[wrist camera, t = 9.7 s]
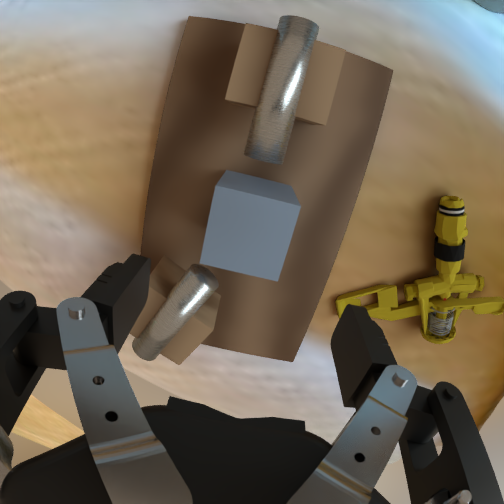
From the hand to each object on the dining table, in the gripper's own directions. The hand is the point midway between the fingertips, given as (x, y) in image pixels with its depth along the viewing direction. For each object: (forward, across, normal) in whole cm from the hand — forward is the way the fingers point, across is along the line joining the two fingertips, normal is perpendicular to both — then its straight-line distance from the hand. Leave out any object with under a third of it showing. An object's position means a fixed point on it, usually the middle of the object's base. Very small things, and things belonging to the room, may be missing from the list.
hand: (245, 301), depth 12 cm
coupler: (+13, 0, 0) cm, 13 cm away
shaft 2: (+10, 0, -9) cm, 13 cm away
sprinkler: (+15, -18, +2) cm, 23 cm away
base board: (+14, +1, 0) cm, 14 cm away
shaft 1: (+9, +4, +8) cm, 13 cm away
